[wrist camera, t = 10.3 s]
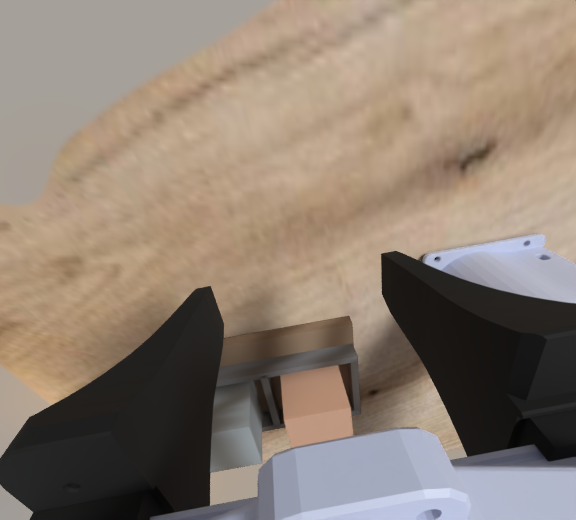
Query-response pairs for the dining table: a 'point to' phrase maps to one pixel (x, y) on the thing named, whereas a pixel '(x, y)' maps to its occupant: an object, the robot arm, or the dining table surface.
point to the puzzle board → (272, 383)
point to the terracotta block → (315, 406)
